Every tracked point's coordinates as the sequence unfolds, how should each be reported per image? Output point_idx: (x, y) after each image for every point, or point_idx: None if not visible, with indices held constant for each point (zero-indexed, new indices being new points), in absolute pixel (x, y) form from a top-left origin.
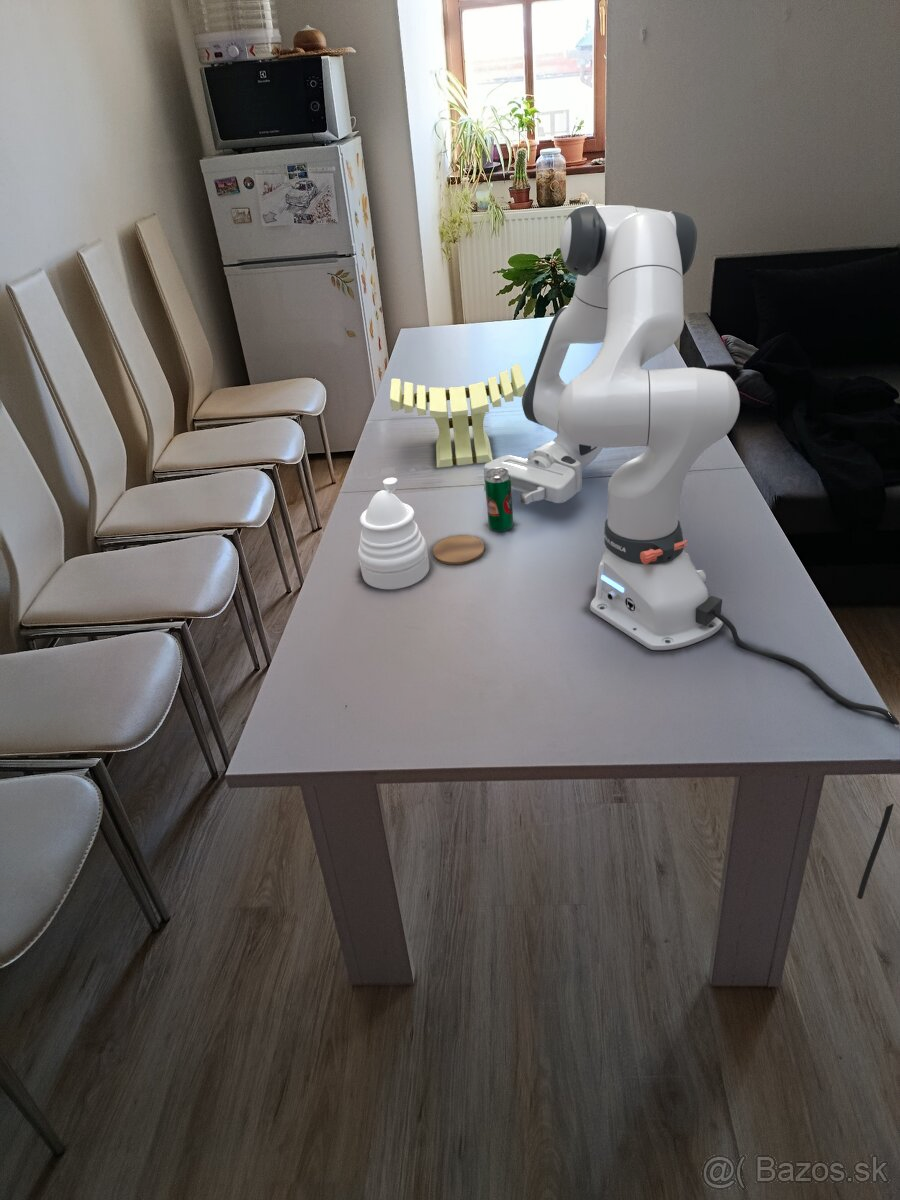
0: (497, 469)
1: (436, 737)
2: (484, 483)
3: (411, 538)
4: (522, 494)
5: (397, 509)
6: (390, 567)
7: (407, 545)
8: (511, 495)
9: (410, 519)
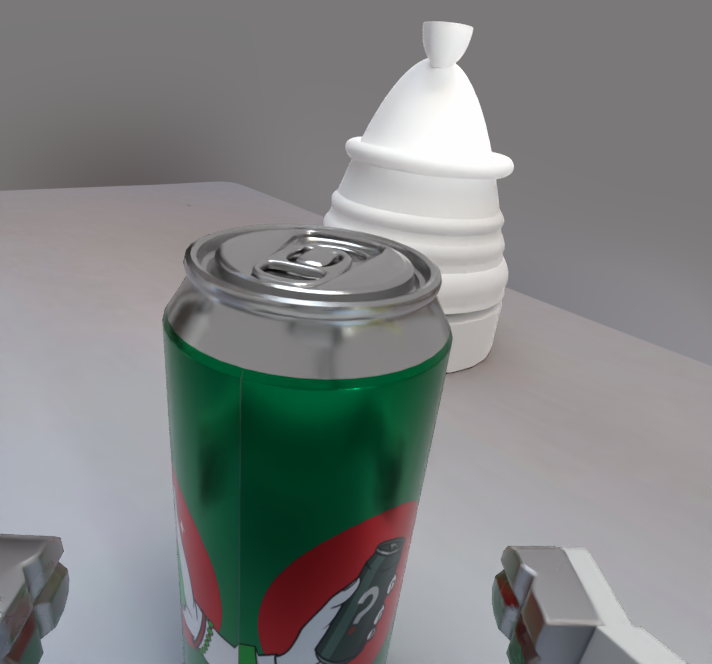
0: (366, 280)
1: (36, 199)
2: (585, 549)
3: (332, 198)
4: (35, 542)
5: (380, 106)
6: None
7: (330, 208)
8: (178, 518)
9: (351, 147)
